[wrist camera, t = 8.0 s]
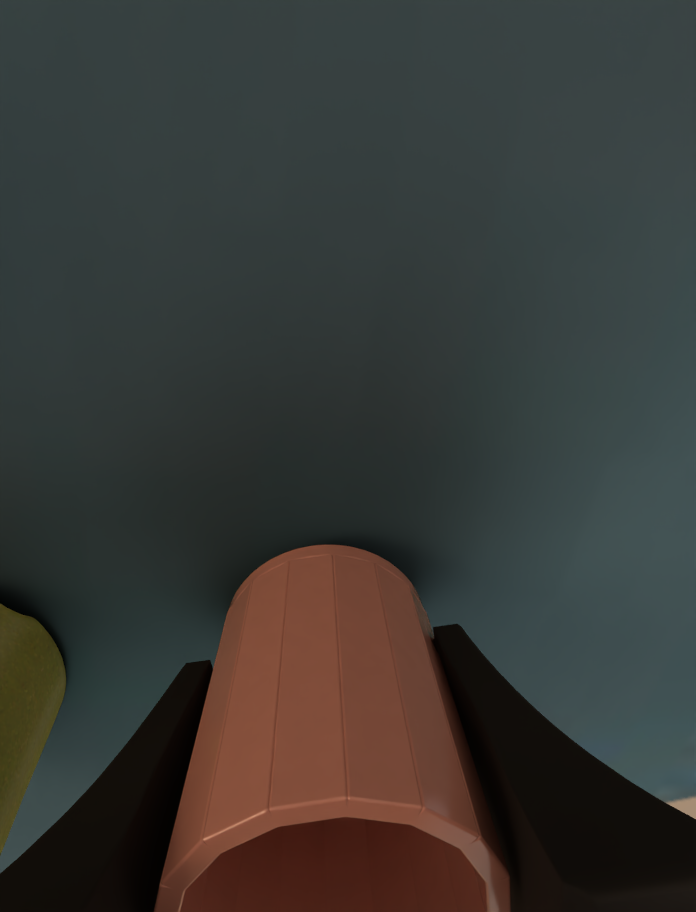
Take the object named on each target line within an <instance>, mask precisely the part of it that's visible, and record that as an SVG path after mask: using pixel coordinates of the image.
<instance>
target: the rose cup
mask: <svg viewBox="0 0 696 912" xmlns="http://www.w3.org/2000/svg"><path fill="white" fill-rule="evenodd" d="M153 912H511V889H510V874H509V871H508V868H507V864H506V861H505V858H504V855H503V852H502V849H501V846H500V842H499V839H498V836H497V833H496V830H495V827H494V824H493V820H492V817H491V814H490V811H489V808H488V805H487V802H486V798H485V795H484V792H483V789H482V786H481V783H480V780H479V776H478V773H477V770H476V767H475V764H474V761H473V758H472V754H471V751H470V748H469V745H468V742H467V739H466V736H465V732H464V729H463V726H462V723H461V720H460V717H459V714H458V710H457V707H456V704H455V701H454V698H453V695H452V692H451V688H450V686H449V682H448V679H447V676H446V674H445V671H444V668H443V665H442V662H441V659H440V656H439V652H438V649H437V646H436V643H435V640H434V635H433V632H432V629H431V625H430V622H429V619H428V616H427V613H426V611H425V610H424V608H423V606H422V603H421V600H420V597H419V595H418V593H417V591H416V590H415V588H414V586H413V585H412V583H411V582H410V581H409V579H408V578H407V577H406V576H405V575H404V574H403V573H402V572H401V571H400V570H399V569H398V568H396V567H395V566H394V565H393V564H391V563H390V562H388V561H387V560H385V559H383V558H381V557H380V556H378V555H376V554H373V553H371V552H368V551H366V550H362V549H359V548H355V547H351V546H344V545H329V544H324V545H312V546H307V547H302V548H297V549H294V550H291V551H288V552H285V553H283V554H281V555H279V556H276V557H274V558H272V559H271V560H269V561H267V562H266V563H264V564H263V565H261V566H260V567H259V568H257V569H256V570H255V571H254V572H253V573H251V574H250V575H249V577H248V578H247V579H246V580H245V581H244V582H243V583H242V584H241V586H240V587H239V589H238V590H237V592H236V593H235V595H234V597H233V599H232V601H231V603H230V607H229V610H228V612H227V615H226V619H225V623H224V627H223V631H222V636H221V640H220V644H219V648H218V652H217V656H216V660H215V664H214V668H213V672H212V676H211V680H210V684H209V688H208V692H207V696H206V700H205V704H204V708H203V712H202V716H201V720H200V724H199V728H198V732H197V736H196V740H195V744H194V748H193V752H192V756H191V760H190V764H189V768H188V772H187V776H186V780H185V784H184V788H183V792H182V796H181V800H180V804H179V808H178V812H177V816H176V820H175V824H174V828H173V832H172V836H171V840H170V844H169V848H168V852H167V856H166V860H165V864H164V868H163V872H162V876H161V880H160V884H159V888H158V893H157V897H156V902H155V906H154V911H153Z"/></svg>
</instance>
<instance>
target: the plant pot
mask: <svg viewBox="0 0 696 912" xmlns="http://www.w3.org/2000/svg"><path fill="white" fill-rule="evenodd" d="M65 688H66V674H65V668H64V663H63V659H62V657H61V654H60V652H59V650H58V648H57V646H56V644H55V642H54V641H53V639H52V638H51V636H50V635H49V633H48V632H47V631H46V630H45V628H44V627H43V626H42V625H41V624H40V623H39V622H38V621H37V620H36V619H35V618H32V617H30V616H25V615H22V614H19V613H17V612H15V611H13V610H11V609H9V608H7V607H5V606H3V605H2V604H1V603H0V855H1V852H2V850H3V847H4V845H5V842H6V840H7V837H8V834H9V832H10V829H11V827H12V824H13V822H14V819H15V817H16V814H17V811H18V809H19V806H20V804H21V801H22V799H23V796H24V794H25V791H26V789H27V787H28V784H29V782H30V779H31V777H32V775H33V772H34V770H35V767H36V765H37V763H38V760H39V758H40V755H41V753H42V750H43V748H44V745H45V743H46V741H47V738H48V736H49V733H50V731H51V728H52V726H53V723H54V721H55V719H56V716H57V714H58V711H59V709H60V706H61V704H62V701H63V697H64V693H65Z"/></svg>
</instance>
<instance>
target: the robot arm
mask: <svg viewBox="0 0 696 912" xmlns="http://www.w3.org/2000/svg"><path fill="white" fill-rule="evenodd" d="M433 630H434V640H435V643H436V646H437V649H438V652H439V656H440V659H441V662H442V665H443V668H444V671H445V674H446V676H447V679H448V682H449V686H450V688H451V692H452V695H453V698H454V701H455V704H456V707H457V710H458V714H459V717H460V720H461V723H462V726H463V729H464V732H465V736H466V739H467V742H468V745H469V748H470V751H471V754H472V758H473V761H474V764H475V767H476V770H477V773H478V776H479V780H480V783H481V786H482V789H483V792H484V795H485V798H486V802H487V805H488V808H489V811H490V814H491V817H492V820H493V824H494V827H495V830H496V833H497V836H498V839H499V842H500V846H501V849H502V852H503V855H504V858H505V861H506V864H507V868H508V871H509V874H510V889H511V912H696V819H694V818H692V817H690V816H689V815H686V814H685V813H683V812H681V811H679V810H677V809H676V808H674V807H672V806H670V805H668V804H666V803H665V802H663V801H661V800H659V799H658V798H656V797H654V796H653V795H651V794H650V793H648V792H646V791H645V790H643V789H641V788H640V787H638V786H636V785H635V784H633V783H632V782H630V781H629V780H627V779H626V778H624V777H623V776H621V775H620V774H619V773H617V772H616V771H614V770H613V769H611V768H610V767H608V766H607V765H605V764H604V763H602V762H601V761H600V760H598V759H597V758H595V757H594V756H592V755H591V754H590V753H588V752H587V751H586V750H585V749H583V748H582V747H581V746H579V745H578V744H577V743H575V742H574V741H573V740H571V739H570V738H569V737H568V736H567V735H565V734H564V733H563V732H562V731H560V730H559V729H558V728H557V727H556V726H554V725H553V724H552V723H551V722H550V721H549V720H547V719H546V718H545V717H544V716H543V715H542V714H541V713H540V712H538V711H537V710H536V709H535V708H534V707H533V706H532V705H531V704H530V703H529V702H528V701H527V700H526V699H525V698H524V697H523V696H522V695H521V694H520V693H518V692H517V691H516V690H515V689H514V688H513V687H512V685H511V684H510V683H509V682H508V681H507V680H506V679H505V678H504V677H503V676H502V675H501V674H500V673H499V672H498V671H497V670H496V669H495V667H494V666H493V665H492V664H491V663H490V662H489V661H488V660H487V658H486V657H485V656H484V655H483V654H482V653H481V651H480V650H479V649H478V648H477V647H476V645H475V644H474V643H473V642H472V640H471V639H470V638H469V636H468V635H467V634H466V633H465V631H464V630H463V628H462V627H461V626H459V625H458V624H453V625H446V626H439V627H433ZM212 672H213V668H212V665H211V661H210V660H206V661H199V662H193V663H186V664H185V666H184V667H183V668H182V669H181V671H180V672H179V673H178V675H177V676H176V678H175V679H174V680H173V682H172V683H171V685H170V686H169V687H168V689H167V690H166V692H165V693H164V694H163V696H162V697H161V699H160V700H159V701H158V703H157V704H156V706H155V707H154V708H153V710H152V711H151V712H150V714H149V715H148V716H147V718H146V719H145V720H144V722H143V723H142V724H141V726H140V727H139V728H138V730H137V731H136V732H135V734H134V735H133V736H132V738H131V739H130V740H129V741H128V743H127V744H126V745H125V746H124V748H123V749H122V750H121V751H120V752H119V754H118V755H117V756H116V757H115V758H114V760H113V761H112V762H111V763H110V765H109V766H108V767H107V768H106V769H105V771H104V772H103V773H102V774H101V775H100V776H99V778H98V779H97V780H96V781H95V782H94V783H93V784H92V786H91V787H90V788H89V789H88V790H87V791H86V792H85V793H84V794H83V795H82V796H81V797H80V798H79V799H78V801H77V802H76V803H75V804H74V805H73V806H72V807H71V808H70V809H69V810H68V811H67V812H66V813H65V814H64V815H63V816H62V817H61V818H60V819H59V820H58V821H57V822H56V823H55V824H54V825H53V826H52V827H51V828H50V829H48V830H47V831H46V832H45V833H44V834H43V835H42V836H41V837H40V838H39V839H38V840H37V841H36V842H35V843H34V844H33V845H32V846H31V847H30V848H28V849H27V850H26V851H25V852H24V853H23V854H22V855H21V856H20V857H19V858H18V859H17V860H15V861H14V862H13V863H12V864H11V865H10V866H9V867H7V868H6V869H5V870H4V871H3V872H2V873H1V874H0V912H153V911H154V906H155V902H156V897H157V893H158V888H159V884H160V880H161V876H162V872H163V868H164V864H165V860H166V856H167V852H168V848H169V844H170V840H171V836H172V832H173V828H174V824H175V820H176V816H177V812H178V808H179V804H180V800H181V796H182V792H183V788H184V784H185V780H186V776H187V772H188V768H189V764H190V760H191V756H192V752H193V748H194V744H195V740H196V736H197V732H198V728H199V724H200V720H201V716H202V712H203V708H204V704H205V700H206V696H207V692H208V688H209V684H210V680H211V676H212Z"/></svg>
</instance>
